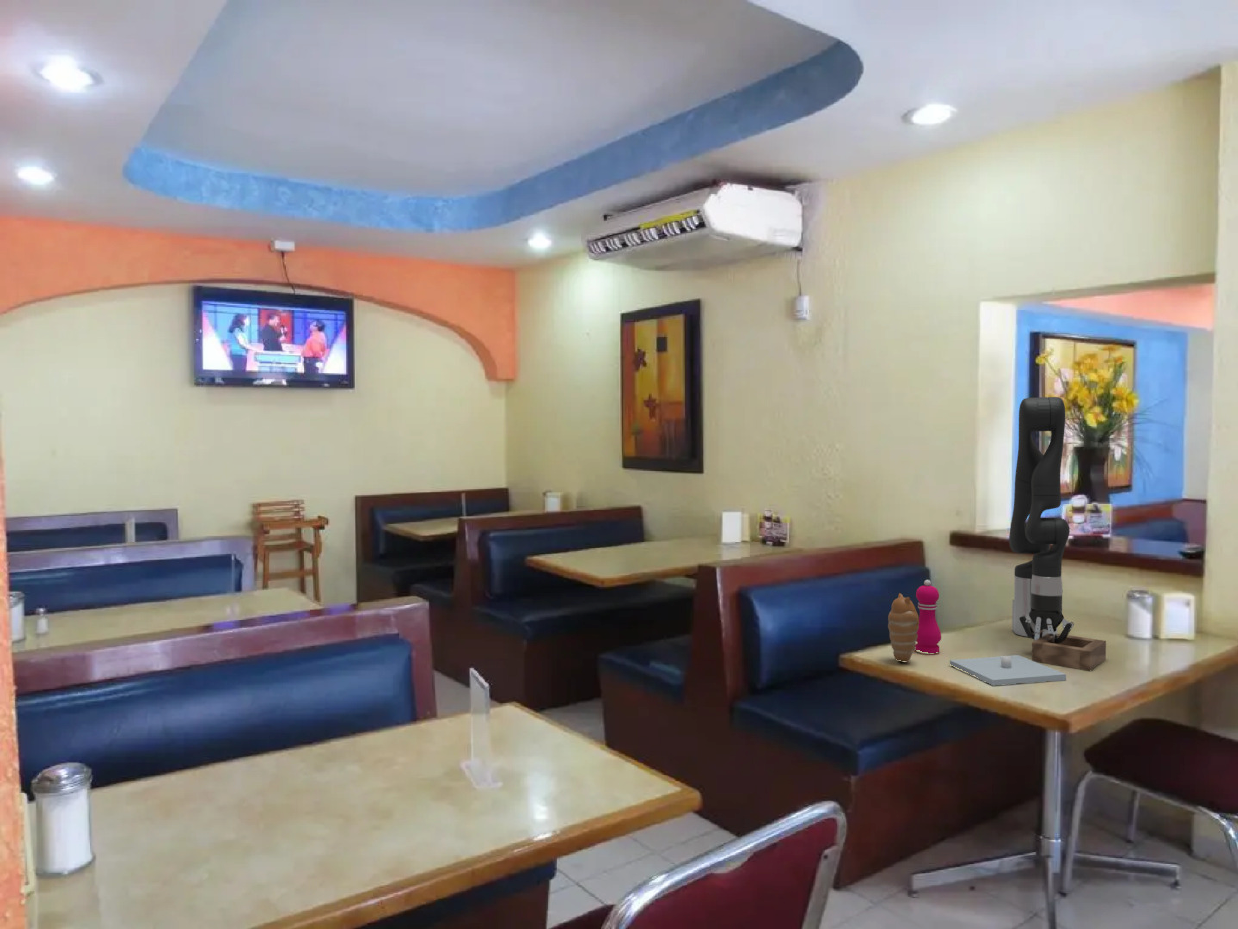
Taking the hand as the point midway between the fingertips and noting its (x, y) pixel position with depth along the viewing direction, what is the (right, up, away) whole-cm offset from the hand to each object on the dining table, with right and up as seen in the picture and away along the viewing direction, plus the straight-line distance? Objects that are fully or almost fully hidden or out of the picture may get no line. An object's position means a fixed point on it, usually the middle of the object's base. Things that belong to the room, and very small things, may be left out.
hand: (1045, 655), depth 233 cm
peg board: (-17, -1, -14) cm, 22 cm away
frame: (+4, 0, -4) cm, 6 cm away
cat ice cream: (-40, -1, -4) cm, 40 cm away
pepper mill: (-30, -1, +6) cm, 30 cm away
